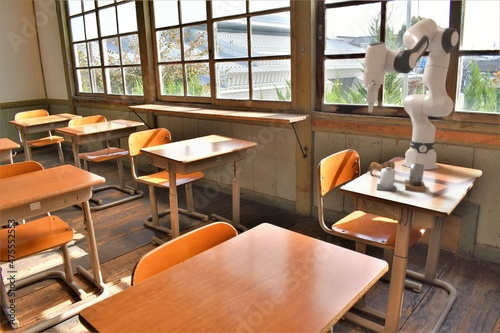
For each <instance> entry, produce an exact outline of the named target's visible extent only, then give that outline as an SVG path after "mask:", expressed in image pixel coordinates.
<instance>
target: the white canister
mask: <svg viewBox="0 0 500 333" xmlns="http://www.w3.org/2000/svg"><path fill="white" fill-rule="evenodd" d="M395 175H396V169H395V168H394V169H391V168H390V167H386V168H383V169H381V172H380V179H379V184H380V187H381V188H384V189H393V186H394V185H395V184H394V183H395V179H396V178H395V177H396V176H395Z"/></svg>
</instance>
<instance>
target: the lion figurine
mask: <svg viewBox="0 0 500 333" xmlns="http://www.w3.org/2000/svg"><path fill="white" fill-rule="evenodd" d="M395 164H396V163H395V162H394V161H393V160H388V161H386V162H383V163H378V162H375V161H373V162H371V163H370V164H369V168H368V169H367V171H365V172H364V173H365V174H367V173H369V174H370V176H371V177H374V174H373V171H375V170H376V171H377V172H378V173H379V172H380V173H381V169H383V168H386V167H390V168H391V169H394V170H395V168H396V165H395Z"/></svg>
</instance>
